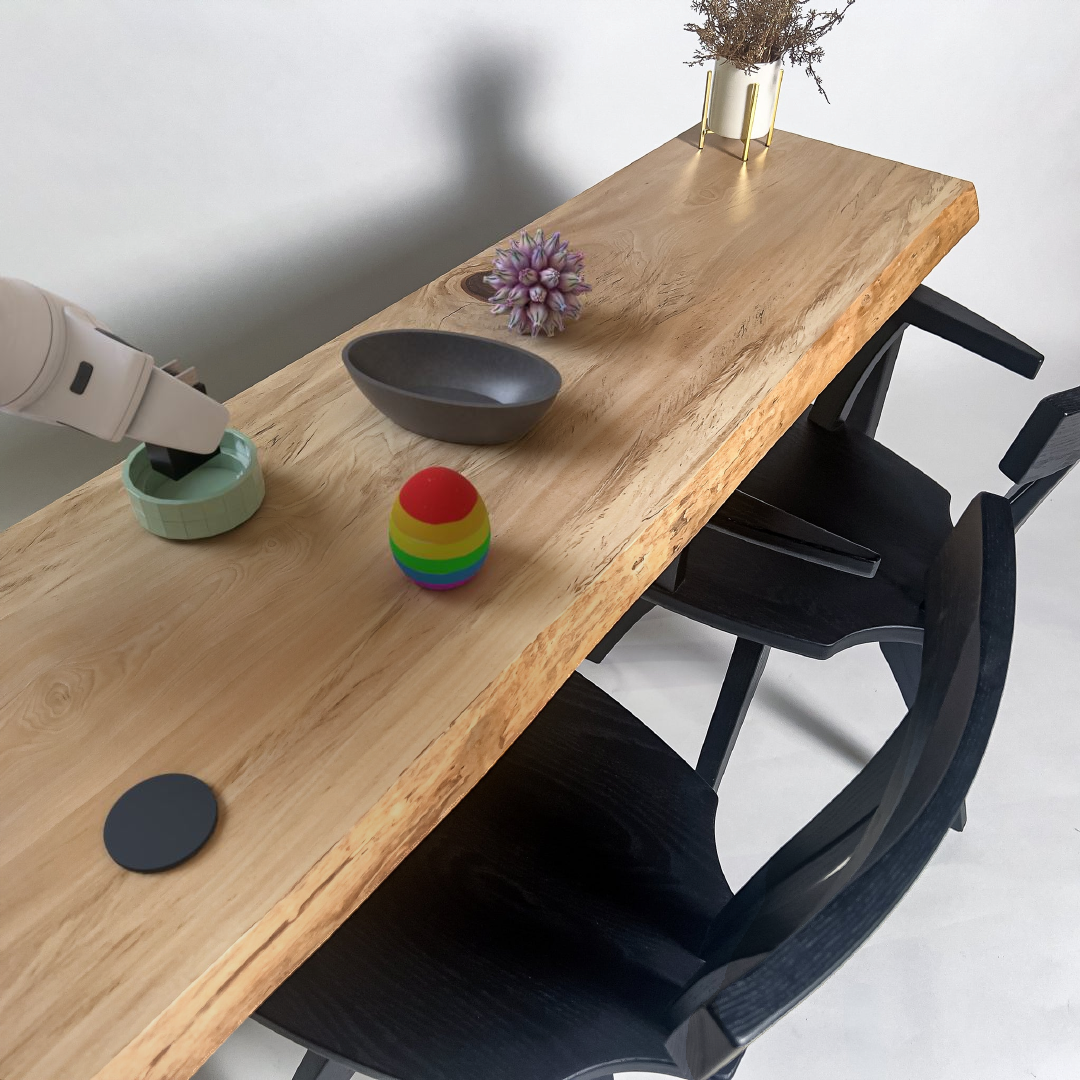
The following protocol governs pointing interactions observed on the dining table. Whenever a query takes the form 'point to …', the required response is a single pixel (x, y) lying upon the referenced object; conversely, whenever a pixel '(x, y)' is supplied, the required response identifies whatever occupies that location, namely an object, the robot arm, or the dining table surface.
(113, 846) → the coaster
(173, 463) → the clip
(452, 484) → the decorative egg
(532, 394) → the bowl
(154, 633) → the dining table surface
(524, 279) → the flower
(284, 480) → the dining table surface
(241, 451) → the green bowl
